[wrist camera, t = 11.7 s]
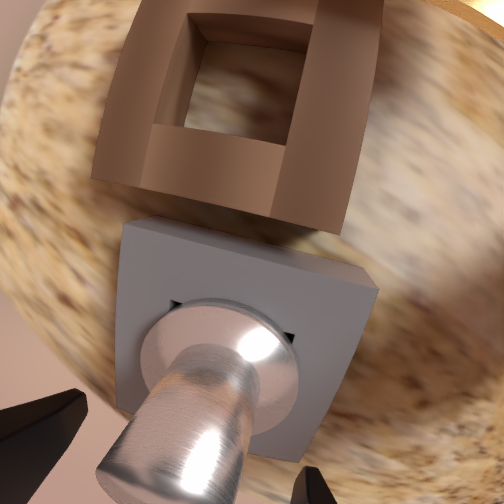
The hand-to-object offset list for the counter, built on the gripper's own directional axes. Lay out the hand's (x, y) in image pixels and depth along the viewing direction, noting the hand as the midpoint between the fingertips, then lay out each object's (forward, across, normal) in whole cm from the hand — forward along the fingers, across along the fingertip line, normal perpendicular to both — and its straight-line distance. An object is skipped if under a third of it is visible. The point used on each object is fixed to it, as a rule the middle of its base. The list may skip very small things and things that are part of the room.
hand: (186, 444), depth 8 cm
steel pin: (+8, 0, 0) cm, 8 cm away
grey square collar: (+8, 0, 0) cm, 8 cm away
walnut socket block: (+8, +2, -12) cm, 14 cm away
